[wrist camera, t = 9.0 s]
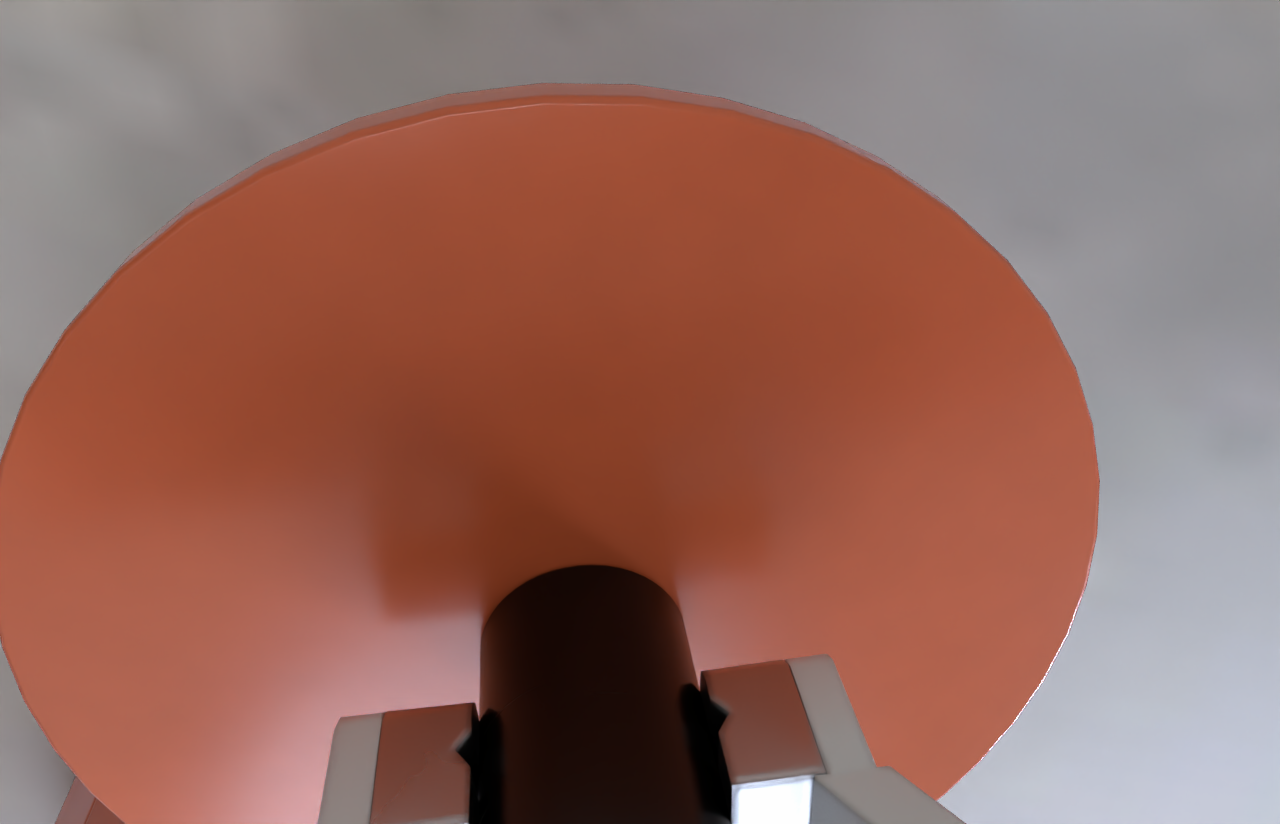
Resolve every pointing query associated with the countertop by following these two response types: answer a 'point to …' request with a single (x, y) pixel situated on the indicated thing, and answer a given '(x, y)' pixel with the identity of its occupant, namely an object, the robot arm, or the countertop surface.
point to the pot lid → (541, 463)
